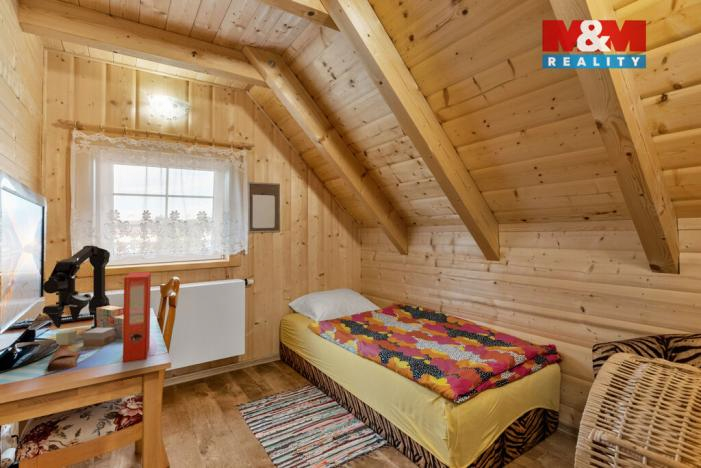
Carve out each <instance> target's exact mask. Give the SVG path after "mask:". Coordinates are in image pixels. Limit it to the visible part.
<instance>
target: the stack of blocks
mask: <svg viewBox="0 0 701 468" xmlns="http://www.w3.org/2000/svg"><path fill="white" fill-rule="evenodd" d="M96 310H97V328H114V338H118V339H123V320H124V307H123V306H122V307H121V306H116V305H115V306H114V305H111V306H104V307H98V308H96Z"/></svg>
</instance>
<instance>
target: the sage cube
mask: <svg viewBox="0 0 701 468" xmlns="http://www.w3.org/2000/svg"><path fill="white" fill-rule="evenodd" d="M77 331H78V330H77V329H75V330H74V329H65V330H62V331H60V332H57V333H56V334H55V337H56V338H55V344H56V343H58V344H59V345H58V346H62V345H63V346H65V345H66V346H68V345H71V344H73V343H75V342H77V340H78V332H77Z"/></svg>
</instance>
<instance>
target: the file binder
mask: <svg viewBox="0 0 701 468" xmlns="http://www.w3.org/2000/svg"><path fill="white" fill-rule="evenodd" d="M151 275H152V272H151V271H147V272H145V271H144V272H143V271H141V272H140V271H139V272H129V273H128V274H127V275H125V276H124V278H123V308H124V320H123V338H122V362H123V363H129V362H130V363H131V362H136V361H137V362H138V361H145V360H147V358H148V354H149V349H150V341H151V340H150V339H151V338H150V335H151V284H152V283H151V279H152V278H151V277H152V276H151Z"/></svg>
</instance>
